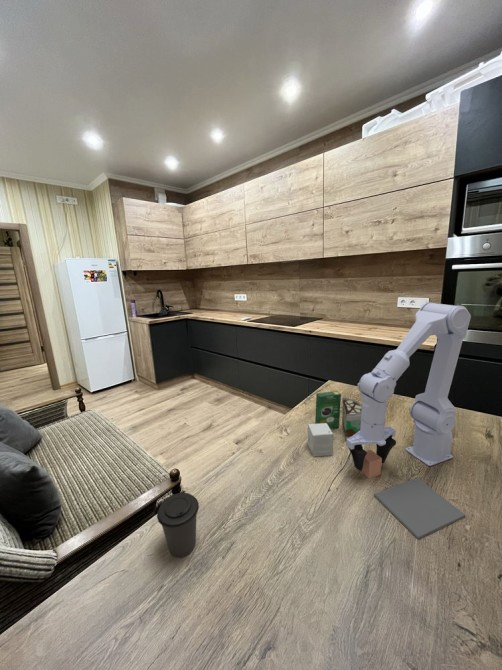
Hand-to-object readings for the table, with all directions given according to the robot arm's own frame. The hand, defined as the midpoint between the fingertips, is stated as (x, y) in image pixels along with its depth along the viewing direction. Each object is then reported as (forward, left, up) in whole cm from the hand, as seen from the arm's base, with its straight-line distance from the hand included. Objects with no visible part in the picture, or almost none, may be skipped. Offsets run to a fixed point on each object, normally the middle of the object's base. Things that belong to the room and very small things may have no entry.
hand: (369, 464), depth 75 cm
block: (0, 0, -2) cm, 2 cm away
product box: (+7, -13, -2) cm, 15 cm away
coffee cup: (+50, +2, -2) cm, 50 cm away
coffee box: (-2, -22, -2) cm, 22 cm away
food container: (-8, -16, -2) cm, 18 cm away
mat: (-2, +13, -2) cm, 13 cm away
